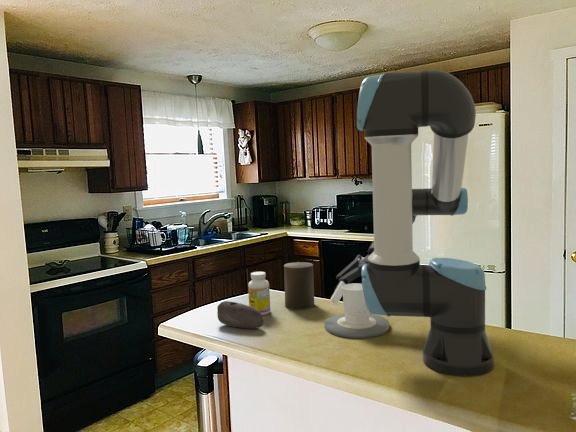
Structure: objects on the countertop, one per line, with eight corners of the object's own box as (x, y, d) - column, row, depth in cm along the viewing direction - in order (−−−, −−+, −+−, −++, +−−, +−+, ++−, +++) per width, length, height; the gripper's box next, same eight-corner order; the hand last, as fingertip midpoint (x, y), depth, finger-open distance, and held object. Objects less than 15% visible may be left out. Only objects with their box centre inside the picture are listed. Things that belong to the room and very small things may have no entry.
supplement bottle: (247, 311, 153) (245, 272, 152) (267, 308, 155) (265, 270, 154) (252, 317, 147) (250, 276, 145) (272, 314, 149) (271, 274, 147)
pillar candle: (305, 311, 151) (304, 264, 149) (279, 307, 156) (277, 262, 154) (319, 303, 159) (318, 259, 157) (294, 300, 164) (293, 257, 163)
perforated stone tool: (268, 328, 137) (267, 304, 136) (258, 333, 132) (256, 309, 132) (227, 321, 145) (226, 298, 144) (216, 326, 140) (214, 303, 139)
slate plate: (392, 338, 125) (392, 332, 124) (323, 338, 127) (323, 332, 126) (386, 316, 142) (386, 311, 142) (326, 316, 144) (325, 311, 144)
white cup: (339, 323, 133) (337, 288, 132) (349, 315, 140) (348, 282, 139) (366, 327, 129) (365, 291, 128) (375, 318, 136) (374, 284, 135)
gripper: (426, 259, 132) (392, 324, 125) (360, 249, 152) (327, 305, 144) (414, 242, 128) (378, 309, 121) (347, 234, 148) (313, 291, 140)
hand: (350, 307), depth 132 cm, fingers open, 13 cm apart
